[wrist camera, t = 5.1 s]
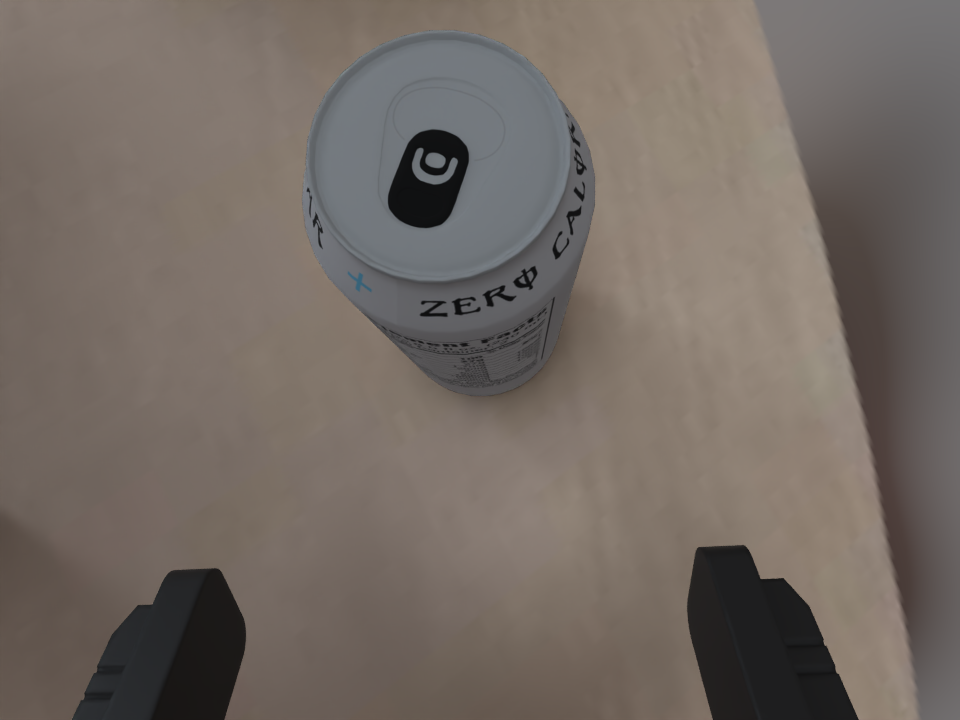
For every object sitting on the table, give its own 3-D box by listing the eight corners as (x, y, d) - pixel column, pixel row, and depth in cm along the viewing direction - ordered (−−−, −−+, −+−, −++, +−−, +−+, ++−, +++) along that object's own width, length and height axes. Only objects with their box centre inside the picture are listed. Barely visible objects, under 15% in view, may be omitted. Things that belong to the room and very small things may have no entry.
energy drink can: (579, 274, 27) (648, 48, 12) (531, 419, 26) (544, 361, 12) (436, 230, 28) (340, -36, 13) (385, 370, 27) (223, 256, 12)
